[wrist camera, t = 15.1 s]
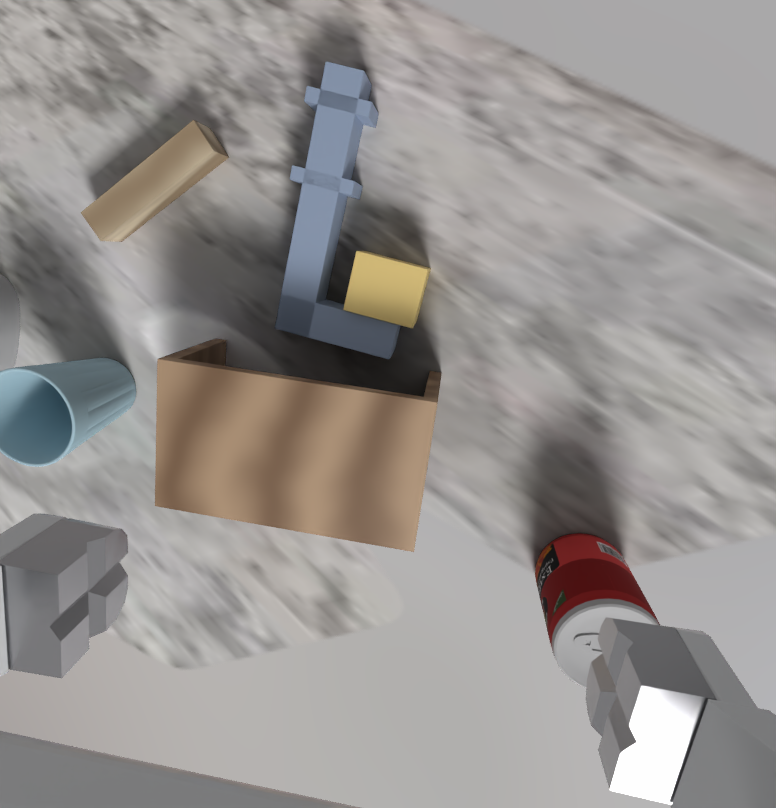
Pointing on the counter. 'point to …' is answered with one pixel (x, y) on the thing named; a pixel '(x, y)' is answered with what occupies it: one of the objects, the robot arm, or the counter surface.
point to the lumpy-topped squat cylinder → (8, 324)
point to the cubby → (291, 449)
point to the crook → (329, 218)
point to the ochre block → (386, 288)
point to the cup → (59, 406)
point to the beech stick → (155, 183)
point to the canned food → (585, 598)
